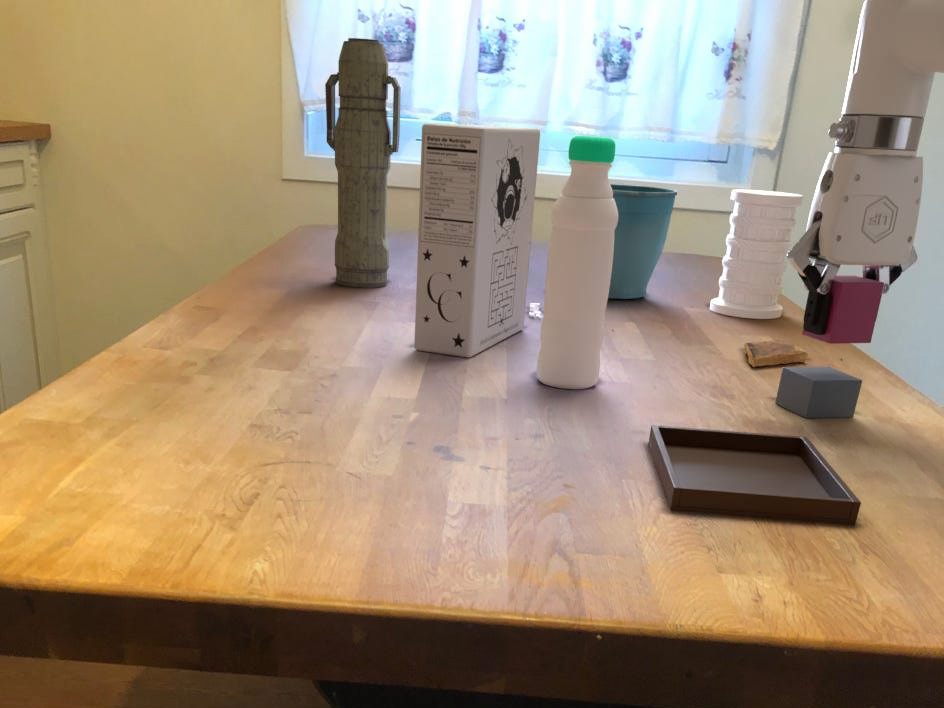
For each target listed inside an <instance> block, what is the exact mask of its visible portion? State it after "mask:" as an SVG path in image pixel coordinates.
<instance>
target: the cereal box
mask: <svg viewBox="0 0 944 708" xmlns="http://www.w3.org/2000/svg"><path fill="white" fill-rule="evenodd" d="M540 140H541V130H540V129H538V128H528V127H527V128H526V127H515V126H499V125H498V126H497V125H483V124H482V125H481V124H480V125H479V124H448V123H447V124H446V123H445V124H444V123H424V124H422V126H421V143H420V145H421V146H420V177H419V204H418V205H419V206H418V207H419V208H418V234H417V262H416V288H415V289H416V292H415V293H416V294H415V321H414V349H415V350H416V351H419V352H427V353H433V354H440V355H447V356H454V357H461V358H469V359H470V358H472V357H473V356H475V355H477V354H479V353H481V352H483V351H485V350H487V349H489V348H490V347H492V346H494V345H496V344H498V343H500V342H502V341H504V340H505V339H507V338H509V337H511V336H513V335H515V334H517V333H518V332H521V331H522V330H524V327H525V316H526V305H527V293H528V283H529V282H528V280H529V271H530V270H529V269H530V260H531V246H532V235H533V225H534V224H533V222H534V221H533V220H534V212H535V202H536V201H535V199H536V189H537V177H538V166H539V165H538V164H539V155H540V154H539V153H540V152H539V151H540V142H541V141H540Z"/></svg>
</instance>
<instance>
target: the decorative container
mask: <svg viewBox="0 0 944 708" xmlns="http://www.w3.org/2000/svg"><path fill="white" fill-rule="evenodd" d="M730 200H731V201H733V202H734V205H733V210H732V213H730V216H729V224H730V226H729V232H728V233H729V234H727V236H726V238H725V245H726V251H725V254H724V256H723V257H722V259H721V263H722V264H721V266H722V267H723V268H722V273H721V276H720V277H719V280H718V287H719V291H718V297H715V298H713V299H711V300H710V304H709V310H710V311H712V312H714V313H717V314H719V315H725V316H730V317H735V318H742V319H753V320H754V319H756V320H772V319H773V320H774V319H778V318H781V317H782V314H783V309H784V308H783V306H782V305H780V304H779V303H778V301H779V295H780V293H782V290H783V282H782V281H783V276H784V273H785V272H786V270H787V267H788V263H787V254H788V252H789V251H790V250H791V247H792V240H791V237H792V231H793V229H795V226H796V218H795V217H796V216H795V215H796V211H797V207H799V206H802V204H803V200H804V195H803V194H800V193H799V194H798V193H792V192H785V191H775V190H774V191H773V190H761V189H760V190H759V189H742V188H741V189H739V188H737V189H732V190H731V194H730Z"/></svg>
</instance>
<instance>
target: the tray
mask: <svg viewBox="0 0 944 708" xmlns="http://www.w3.org/2000/svg"><path fill="white" fill-rule="evenodd" d="M649 430H650V431H649V438H648V443H647V445H648V449H649V451H650V454H651V457H652V460H653V463H654V466H655V469H656V473H657V476H658V479H659V481H660V485H661V488H662V490H663V493H664V497H665V499H666V500H665V501H666V503H667V505H668V508H669V511H671V512H672V511H673V512H683V513H694V514H695V513H697V514H708V515H719V516H720V515H721V516H734V517H745V518H758V519H770V520H773V519H774V520H784V521H796V522H797V521H798V522H807V523H820V524H821V523H822V524H834V525H848V526H856V525H857V519H858V516H859V512H860V508H861V505H862V502H861V501H860V499H859V498H858V497H857V495H856V494H855V493H854V492H853V491H852V490H851V488H850V487H849V485H847V484H846V482H845V481H844V480H843V479H842V478H841V477H840V475H839V474H838V473H837V472H836V470H834V468H833V467H832V466H831V465H830V463H829V462H828V461H827V460H826V458H825V457H824V456H823V454H821V453H820V451H819V450H818V449H817V448H816V446H815V445H814V444H813V443H812V442H811V440H810V439H809V438H808V437H807V436H798V435H786V434H785V435H784V434H773V433H761V432H760V433H758V432H747V431H733V430H721V429H709V428H708V429H707V428H693V427H681V426H669V425H657V424H655V425H654V424H652V425H650V429H649Z"/></svg>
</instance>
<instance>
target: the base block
mask: <svg viewBox="0 0 944 708" xmlns="http://www.w3.org/2000/svg"><path fill="white" fill-rule="evenodd" d="M862 385H863V379H860V378H858V377H856V376H853V375H851V374H848V373H846V372H843V371H840V370H839V369H837V368H833V367H831V366H783V367H782V369H781V374H780V379H779V383H778V388H777V393H776V398H775V404H776V405H778V406H780V407H782V408H785V409H786V410H788V411H790V412H792V413H794V414H797V415H799V416H801V417H803V418H804V419H830V418H831V419H833V418H854V416H855V412H856V408H857V404H858V400H859V397H860V396H859V395H860V393H861V388H862Z"/></svg>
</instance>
